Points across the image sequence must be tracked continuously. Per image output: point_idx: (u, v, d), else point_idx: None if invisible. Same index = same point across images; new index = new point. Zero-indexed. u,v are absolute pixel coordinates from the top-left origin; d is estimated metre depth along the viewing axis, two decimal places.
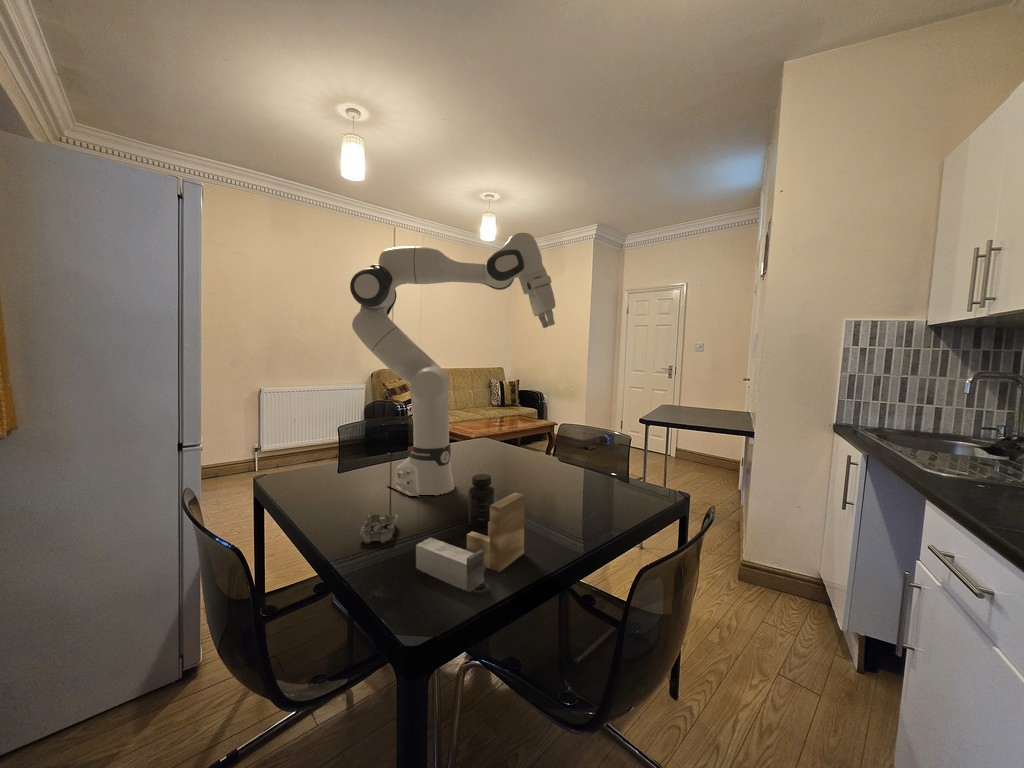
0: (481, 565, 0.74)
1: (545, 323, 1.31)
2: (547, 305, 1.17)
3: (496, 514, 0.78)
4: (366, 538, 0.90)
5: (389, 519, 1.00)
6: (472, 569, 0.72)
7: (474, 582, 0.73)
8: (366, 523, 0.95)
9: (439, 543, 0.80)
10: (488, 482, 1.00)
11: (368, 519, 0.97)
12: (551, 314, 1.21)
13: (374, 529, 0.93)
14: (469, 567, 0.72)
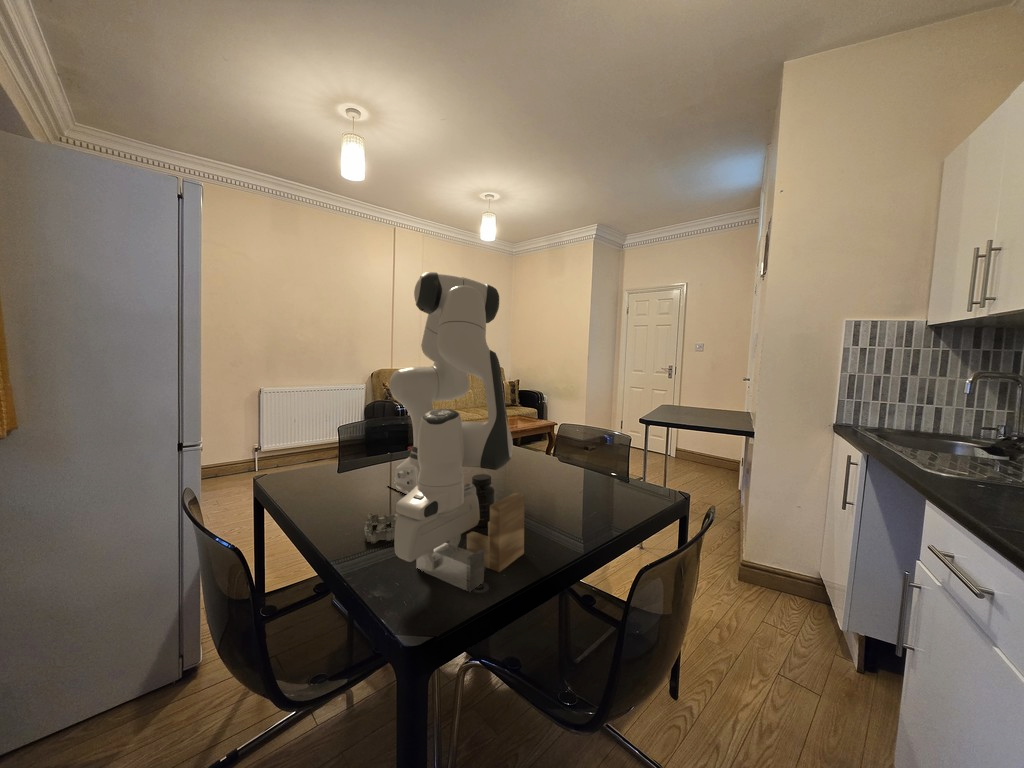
0: (481, 565, 0.74)
1: None
2: (398, 553, 0.70)
3: (496, 514, 0.78)
4: (372, 538, 0.90)
5: (388, 519, 1.01)
6: (472, 569, 0.72)
7: (474, 582, 0.73)
8: (368, 523, 0.95)
9: None
10: (488, 482, 1.00)
11: (369, 520, 0.96)
12: (427, 556, 0.74)
13: (378, 529, 0.93)
14: (469, 567, 0.72)
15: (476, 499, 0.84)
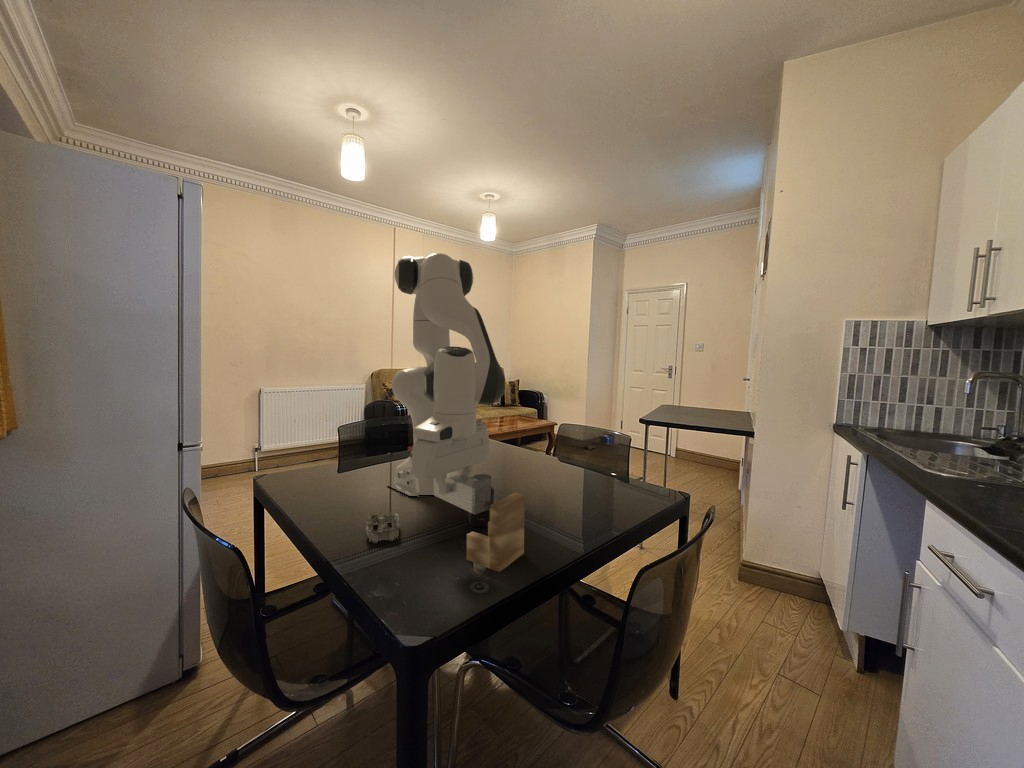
0: (487, 492, 0.78)
1: None
2: (415, 473, 0.76)
3: (496, 514, 0.78)
4: (374, 538, 0.90)
5: (388, 518, 1.01)
6: (477, 492, 0.76)
7: (479, 506, 0.77)
8: (369, 524, 0.95)
9: (455, 473, 0.86)
10: None
11: (369, 520, 0.96)
12: (440, 480, 0.80)
13: (380, 528, 0.93)
14: (474, 490, 0.76)
15: (487, 435, 0.89)
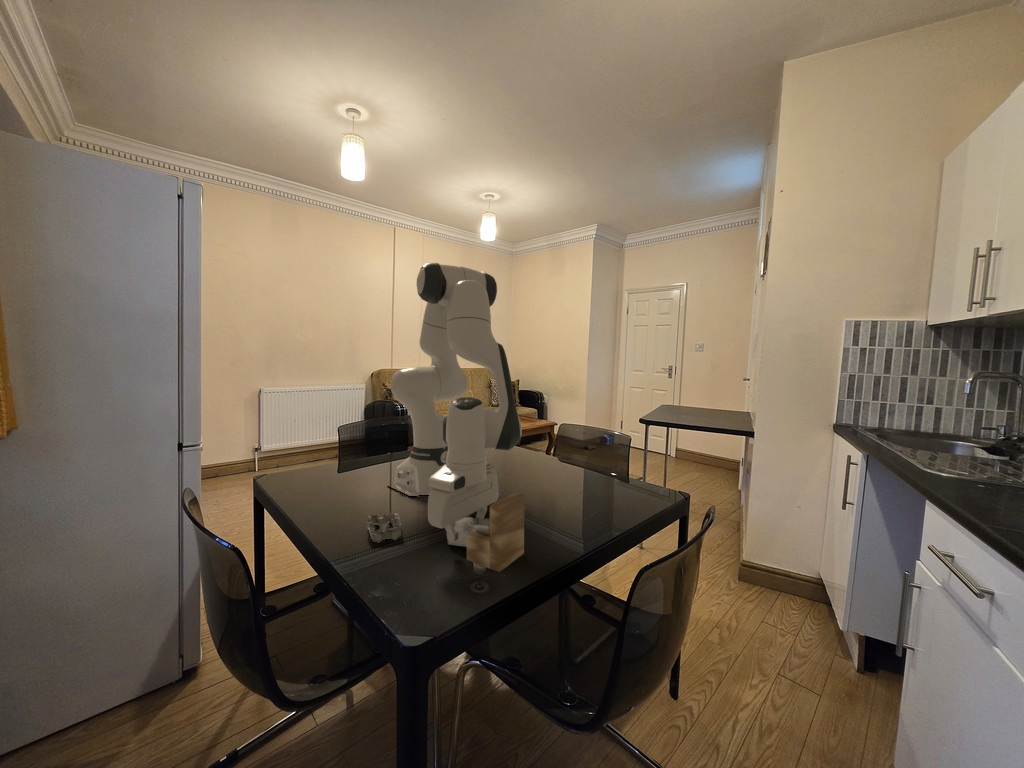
0: None
1: None
2: (431, 521, 0.81)
3: (496, 514, 0.78)
4: (378, 537, 0.90)
5: (387, 518, 1.01)
6: None
7: None
8: (370, 524, 0.94)
9: (465, 518, 0.91)
10: None
11: (370, 520, 0.96)
12: (449, 528, 0.84)
13: (382, 528, 0.93)
14: None
15: (495, 478, 0.94)
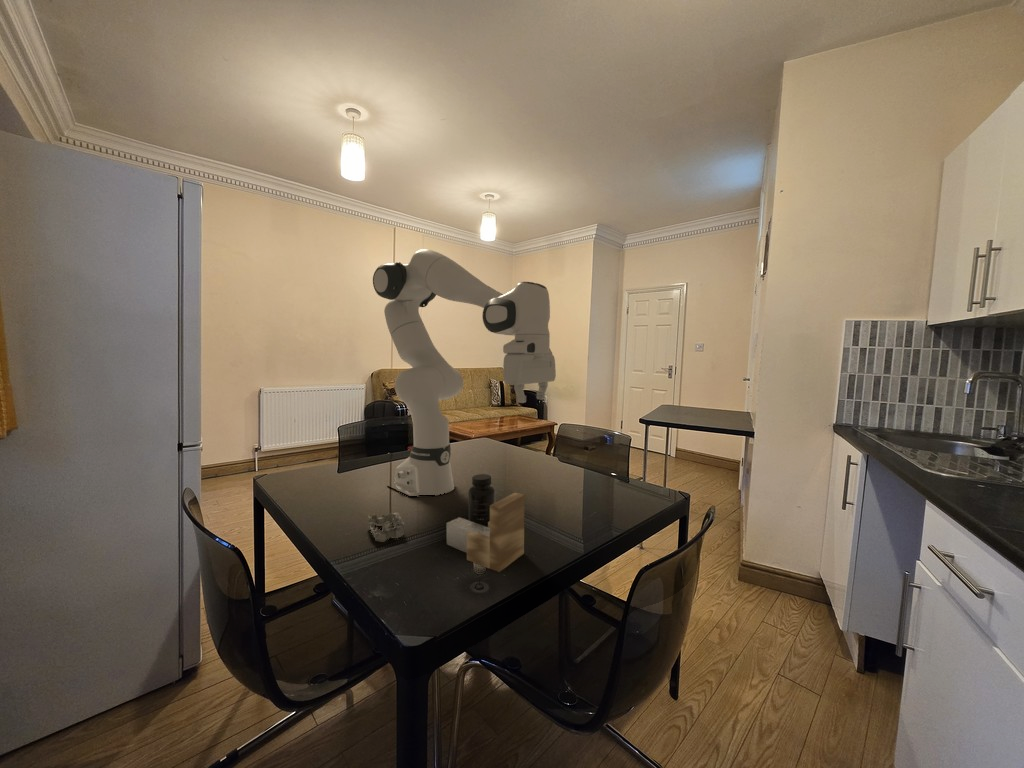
0: None
1: (539, 394, 1.05)
2: (506, 379, 0.94)
3: (496, 514, 0.78)
4: (382, 537, 0.90)
5: (386, 518, 1.01)
6: None
7: None
8: (372, 524, 0.94)
9: (467, 522, 0.90)
10: (488, 482, 1.00)
11: (371, 520, 0.96)
12: (519, 390, 0.96)
13: (385, 527, 0.93)
14: None
15: (554, 359, 1.08)
